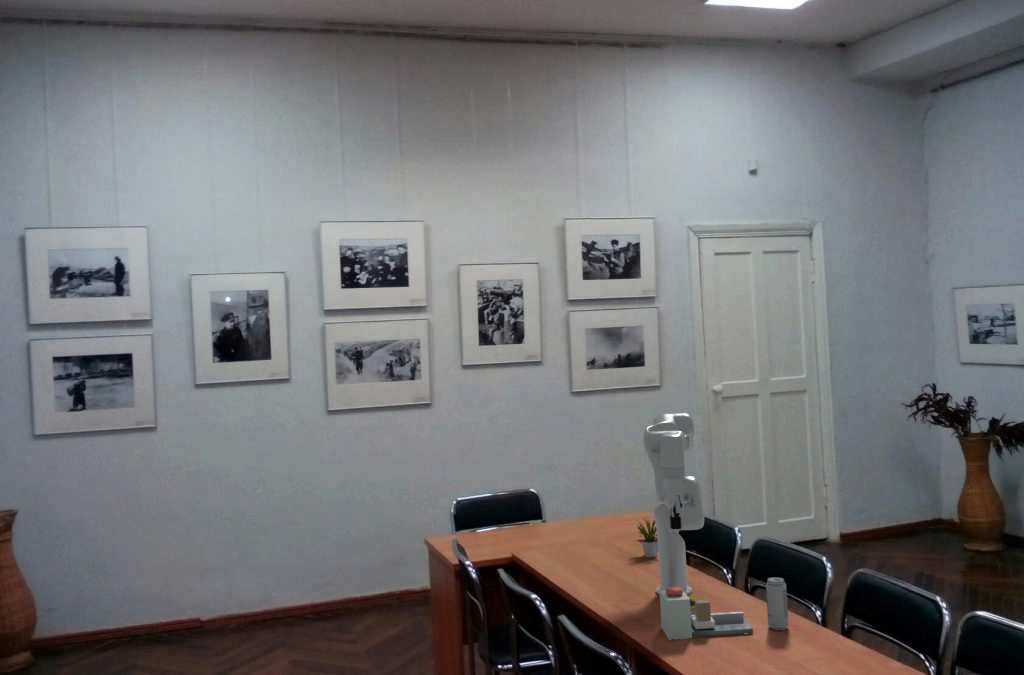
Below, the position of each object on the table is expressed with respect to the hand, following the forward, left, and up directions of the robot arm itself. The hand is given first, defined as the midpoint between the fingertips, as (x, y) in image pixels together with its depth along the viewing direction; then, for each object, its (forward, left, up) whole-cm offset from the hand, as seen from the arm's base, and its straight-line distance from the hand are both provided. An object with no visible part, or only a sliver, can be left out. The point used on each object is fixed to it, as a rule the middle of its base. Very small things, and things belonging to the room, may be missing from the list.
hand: (675, 528), depth 283 cm
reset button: (+14, -4, -21) cm, 26 cm away
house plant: (-80, +7, -29) cm, 86 cm away
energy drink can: (+15, +27, -29) cm, 43 cm away
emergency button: (-7, +4, -30) cm, 31 cm away
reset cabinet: (+14, -4, -29) cm, 33 cm away
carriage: (+14, +4, -27) cm, 31 cm away
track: (+14, +9, -29) cm, 33 cm away
